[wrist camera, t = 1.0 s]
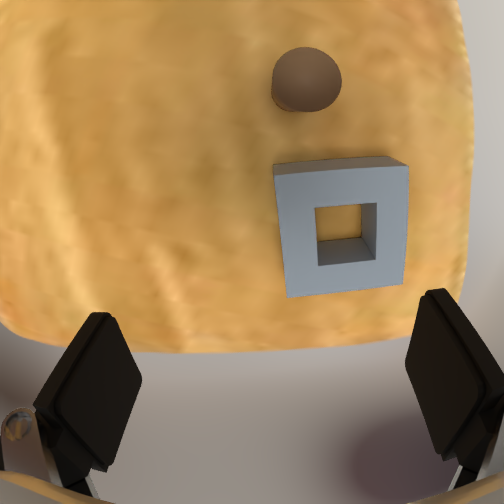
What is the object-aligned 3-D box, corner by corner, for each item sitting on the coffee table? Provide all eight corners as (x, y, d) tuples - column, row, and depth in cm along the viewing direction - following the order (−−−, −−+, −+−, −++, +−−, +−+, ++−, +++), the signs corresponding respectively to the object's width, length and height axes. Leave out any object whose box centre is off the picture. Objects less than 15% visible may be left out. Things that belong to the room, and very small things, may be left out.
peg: (268, 75, 24) (268, 50, 14) (309, 71, 24) (336, 46, 13) (274, 113, 26) (277, 114, 15) (314, 109, 26) (345, 109, 15)
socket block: (272, 164, 28) (273, 175, 24) (387, 156, 27) (408, 165, 22) (285, 270, 33) (287, 297, 28) (386, 259, 31) (402, 284, 27)
